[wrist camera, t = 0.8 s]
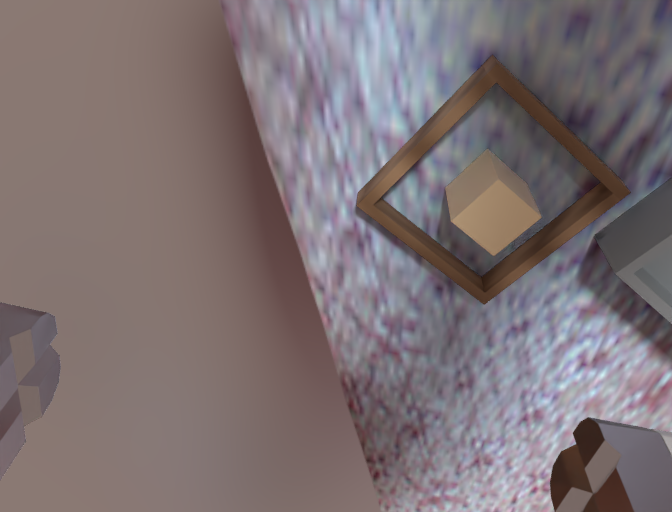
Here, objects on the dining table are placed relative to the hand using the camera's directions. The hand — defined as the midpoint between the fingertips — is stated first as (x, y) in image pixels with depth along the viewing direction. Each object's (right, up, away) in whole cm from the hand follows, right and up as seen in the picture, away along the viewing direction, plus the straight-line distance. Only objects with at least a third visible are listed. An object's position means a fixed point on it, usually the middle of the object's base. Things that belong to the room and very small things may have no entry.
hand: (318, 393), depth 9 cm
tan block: (+14, +8, +42) cm, 45 cm away
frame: (+14, +8, +42) cm, 44 cm away
